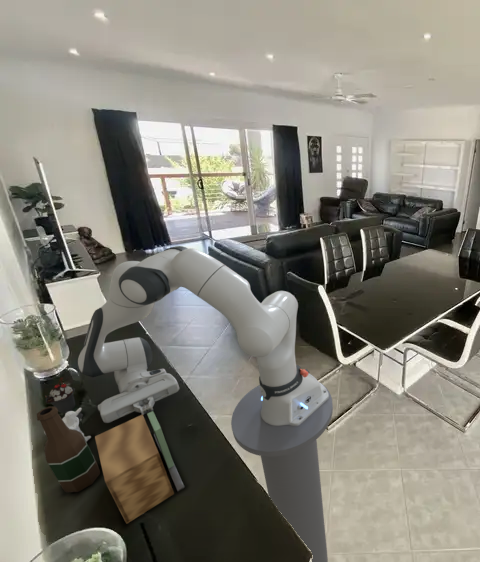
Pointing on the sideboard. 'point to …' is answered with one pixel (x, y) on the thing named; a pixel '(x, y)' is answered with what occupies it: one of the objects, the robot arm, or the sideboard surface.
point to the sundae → (62, 398)
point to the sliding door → (160, 439)
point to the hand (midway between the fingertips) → (147, 411)
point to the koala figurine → (73, 422)
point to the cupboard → (134, 468)
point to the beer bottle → (67, 452)
